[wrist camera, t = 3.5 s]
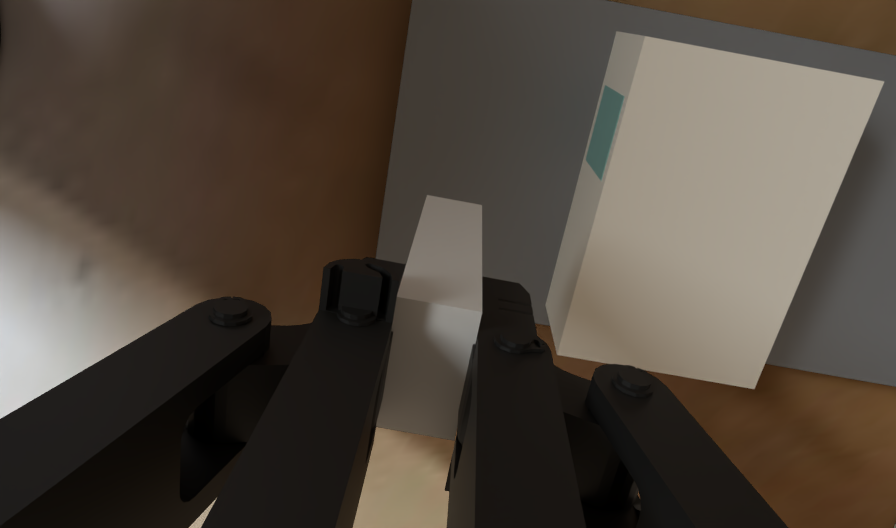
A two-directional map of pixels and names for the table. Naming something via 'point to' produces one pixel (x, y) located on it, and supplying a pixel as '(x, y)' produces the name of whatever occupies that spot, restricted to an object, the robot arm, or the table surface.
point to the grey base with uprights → (565, 140)
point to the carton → (699, 206)
